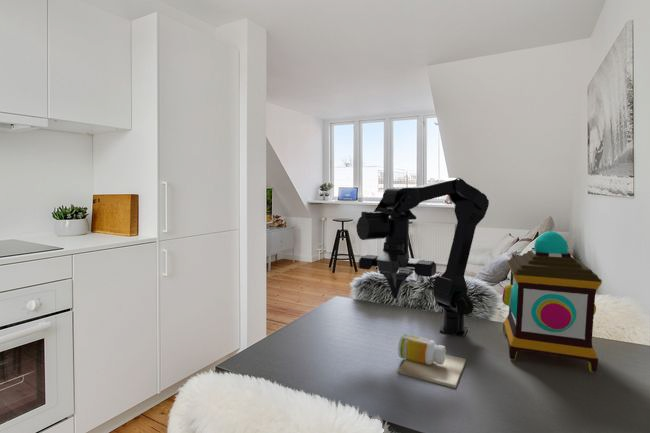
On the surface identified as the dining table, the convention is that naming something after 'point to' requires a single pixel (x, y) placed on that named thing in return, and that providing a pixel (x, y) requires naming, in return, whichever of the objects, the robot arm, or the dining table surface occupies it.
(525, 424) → the dining table surface
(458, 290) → the robot arm
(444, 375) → the birch mat
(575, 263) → the decorative lantern
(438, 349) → the supplement bottle
